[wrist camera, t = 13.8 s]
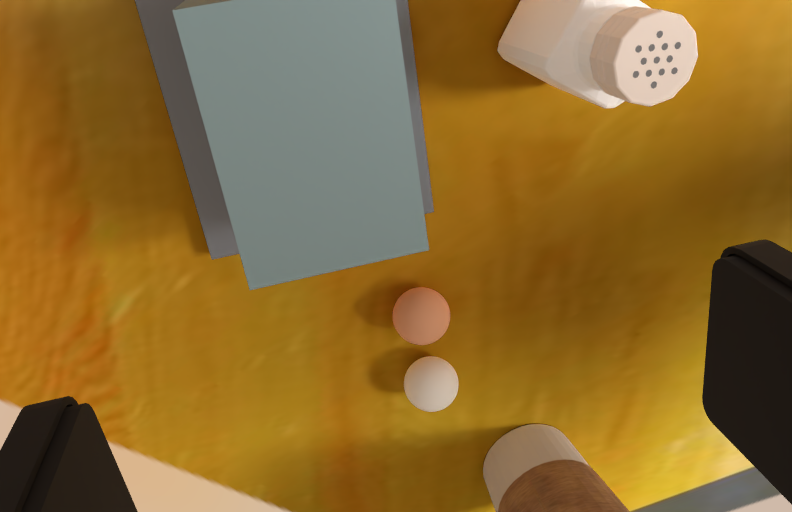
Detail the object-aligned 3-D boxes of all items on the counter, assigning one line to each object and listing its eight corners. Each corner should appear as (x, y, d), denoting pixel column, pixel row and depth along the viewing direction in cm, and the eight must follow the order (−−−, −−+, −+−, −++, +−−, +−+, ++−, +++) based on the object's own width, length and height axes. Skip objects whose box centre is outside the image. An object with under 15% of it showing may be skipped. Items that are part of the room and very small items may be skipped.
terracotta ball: (438, 271, 35) (454, 298, 32) (444, 319, 36) (460, 348, 34) (383, 284, 35) (395, 311, 32) (391, 331, 36) (403, 362, 33)
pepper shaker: (599, 10, 31) (731, 31, 23) (555, 88, 32) (666, 136, 24) (531, -32, 30) (646, -26, 21) (488, 51, 31) (580, 88, 22)
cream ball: (447, 340, 37) (462, 370, 34) (452, 383, 38) (468, 415, 36) (395, 352, 37) (407, 384, 34) (402, 395, 38) (414, 429, 35)
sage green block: (358, -31, 27) (391, -27, 21) (392, 192, 32) (429, 250, 26) (188, -3, 27) (172, 10, 20) (248, 222, 31) (249, 290, 25)
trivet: (393, -78, 28) (397, -79, 27) (429, 206, 33) (434, 211, 33) (127, -37, 26) (123, -37, 26) (212, 252, 32) (211, 259, 31)
